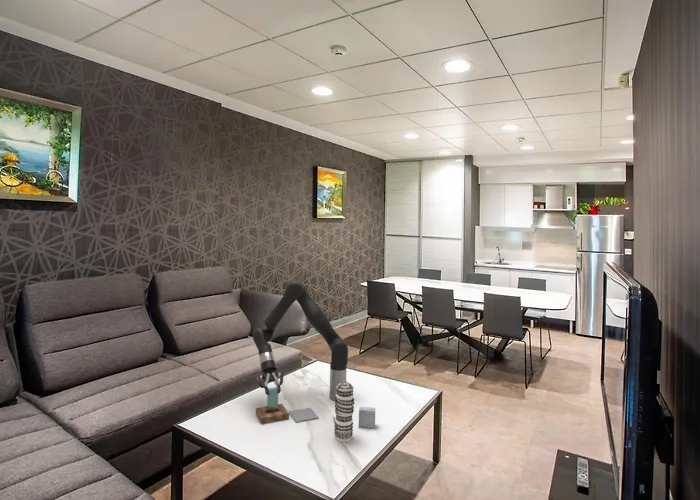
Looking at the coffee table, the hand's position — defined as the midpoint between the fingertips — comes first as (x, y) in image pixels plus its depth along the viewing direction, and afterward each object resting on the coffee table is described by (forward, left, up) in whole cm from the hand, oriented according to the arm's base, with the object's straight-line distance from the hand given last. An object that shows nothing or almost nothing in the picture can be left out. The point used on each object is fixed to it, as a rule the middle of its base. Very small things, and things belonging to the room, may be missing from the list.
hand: (273, 393), depth 209 cm
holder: (0, -2, -12) cm, 13 cm away
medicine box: (-40, +25, -13) cm, 49 cm away
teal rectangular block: (0, -2, -7) cm, 7 cm away
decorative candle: (-25, +30, -13) cm, 41 cm away
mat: (-15, +3, -12) cm, 20 cm away
